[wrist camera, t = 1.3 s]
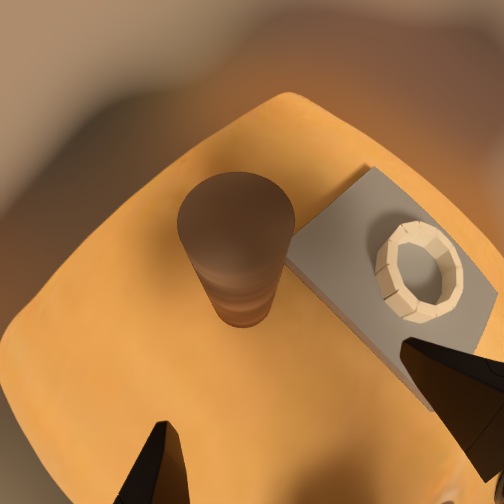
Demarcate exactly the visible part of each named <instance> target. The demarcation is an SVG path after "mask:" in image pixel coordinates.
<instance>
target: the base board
mask: <svg viewBox="0 0 504 504" xmlns="http://www.w3.org/2000/svg"><path fill="white" fill-rule="evenodd" d="M284 263H285V264H286V265H287V266H288V267H289V268H290V269H291V270H292V271H293V272H294V273H295V274H296V275H297V276H298V277H299V278H300V279H301V280H302V281H303V282H304V283H305V284H306V285H307V286H308V287H309V288H310V289H311V290H312V291H313V292H314V293H315V294H316V295H317V296H318V297H319V298H320V299H321V300H322V301H323V302H324V303H325V304H326V305H327V306H328V307H329V308H330V309H331V310H332V311H333V312H334V313H335V314H336V315H337V316H338V317H339V318H340V319H341V320H342V321H343V322H344V323H345V324H346V325H347V326H348V327H349V328H350V329H351V330H352V331H353V332H354V333H355V334H356V335H357V336H358V337H359V338H360V339H361V340H362V341H363V342H364V343H365V344H366V345H367V346H368V347H369V348H370V349H371V351H372V352H373V353H374V354H375V355H376V356H377V357H378V358H379V359H380V360H381V361H382V362H383V363H384V364H385V365H386V366H387V367H388V368H389V369H390V370H391V371H392V372H393V373H394V374H395V375H396V376H397V377H398V378H399V379H400V380H401V381H402V382H403V383H404V384H405V386H406V387H407V388H408V389H409V390H410V391H411V392H412V393H413V394H414V395H415V396H416V397H417V398H418V399H419V400H420V401H421V402H422V403H423V404H424V405H425V406H426V408H427V409H428V410H429V411H430V412H435V411H434V409H433V408H432V407H431V405H430V404H429V403H428V401H427V400H426V399H425V397H424V396H423V395H422V393H421V392H420V391H419V389H418V388H417V387H416V385H415V383H414V382H413V380H412V378H411V377H410V375H409V373H408V372H407V370H406V368H405V367H404V365H403V364H402V362H401V360H400V349H401V344H402V341H403V340H405V339H407V338H408V337H415V338H418V339H421V340H425V341H428V342H431V343H434V344H438V345H441V346H445V347H448V348H451V349H455V350H458V351H462V352H465V353H469V354H472V355H473V353H474V351H475V349H476V347H477V345H478V343H479V341H480V338H481V336H482V334H483V331H484V329H485V327H486V324H487V322H488V319H489V317H490V314H491V312H492V309H493V306H494V303H495V301H496V298H497V295H498V293H497V292H496V290H495V289H494V288H493V286H492V285H491V284H490V282H489V281H488V280H487V278H486V277H485V276H484V275H483V273H482V272H481V271H480V270H479V268H478V267H477V266H476V265H475V264H474V262H473V261H472V260H471V259H470V258H469V256H468V255H467V254H466V253H465V252H464V251H463V250H462V248H461V247H460V246H459V245H458V244H457V243H456V242H455V241H454V240H453V238H452V237H451V236H450V235H449V234H448V233H447V232H446V231H445V230H444V229H443V228H442V227H441V226H440V225H439V224H438V223H437V222H436V221H435V220H434V219H433V218H432V217H431V216H430V215H429V214H428V213H427V212H426V211H425V210H424V209H423V208H422V207H421V206H420V205H419V204H418V203H417V202H415V201H414V200H413V199H412V198H411V197H410V196H409V195H408V194H407V193H406V192H404V191H403V190H402V189H401V188H400V187H399V186H398V185H396V184H395V183H394V182H393V181H392V180H391V179H389V178H388V177H387V176H386V175H385V174H383V173H382V172H381V171H380V170H378V169H377V168H376V167H375V166H374V167H372V168H371V169H370V170H369V171H368V172H367V173H366V174H364V175H363V176H362V177H361V178H360V179H359V180H358V181H356V182H355V183H354V184H353V185H352V186H351V187H349V188H348V189H347V190H346V191H345V192H344V193H343V194H341V195H340V196H339V197H338V198H337V199H336V200H334V201H333V202H332V203H331V204H330V205H329V206H327V207H326V208H325V209H324V210H323V211H322V212H320V213H319V214H318V215H317V216H316V217H315V218H313V219H312V220H311V221H310V222H309V223H308V224H306V225H305V226H304V227H303V228H302V229H301V230H299V231H298V232H297V233H296V234H295V235H294V236H292V238H291V242H290V245H289V248H288V252H287V255H286V259H285V262H284Z"/></svg>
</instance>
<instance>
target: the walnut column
mask: <svg viewBox="0 0 504 504" xmlns="http://www.w3.org/2000/svg"><path fill="white" fill-rule="evenodd" d="M294 225H295V217H294V211H293V207H292V204H291V202H290V200H289V198H288V197H287V195H286V194H285V193H284V191H283V190H282V189H281V188H280V187H279V186H277V185H276V184H275V183H273V182H272V181H270V180H268V179H267V178H264V177H262V176H259V175H256V174H252V173H247V172H229V173H223V174H219V175H216V176H213V177H211V178H208V179H206V180H205V181H203V182H201V183H200V184H198V185H197V186H196V187H195V188H194V189H192V190H191V191H190V193H189V194H188V195H187V196H186V198H185V199H184V201H183V203H182V205H181V207H180V210H179V213H178V219H177V228H178V234H179V237H180V240H181V242H182V244H183V246H184V249H185V251H186V253H187V255H188V257H189V259H190V261H191V263H192V265H193V267H194V269H195V271H196V273H197V275H198V277H199V279H200V281H201V283H202V285H203V287H204V289H205V291H206V293H207V295H208V297H209V299H210V301H211V303H212V305H213V307H214V309H215V311H216V313H217V314H218V316H219V317H220V318H221V319H222V320H223V321H224V322H225V323H227V324H229V325H231V326H233V327H237V328H248V327H252V326H254V325H257V324H258V323H260V322H261V321H262V320H263V319H264V318H265V317H266V316H267V314H268V313H269V311H270V308H271V305H272V302H273V299H274V295H275V292H276V289H277V285H278V282H279V279H280V276H281V272H282V269H283V266H284V262H285V259H286V255H287V252H288V248H289V245H290V242H291V238H292V235H293V231H294Z"/></svg>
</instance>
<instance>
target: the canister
mask: <svg viewBox="0 0 504 504" xmlns="http://www.w3.org/2000/svg"><path fill="white" fill-rule="evenodd" d="M503 484H504V472H503V474H502V476H501V479H500V481H499V484H498V487H497V491H496V495H495V504H500V503H501V502H502V501H503V500H504V498H503V496H502V489H503Z"/></svg>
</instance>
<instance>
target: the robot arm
mask: <svg viewBox="0 0 504 504" xmlns="http://www.w3.org/2000/svg"><path fill="white" fill-rule="evenodd" d="M400 360H401V362H402V364H403V365H404V367H405V368H406V370H407V372H408V373H409V375H410V377H411V378H412V380H413V382H414V383H415V385H416V387H417V388H418V389H419V391H420V392H421V393H422V395H423V396H424V397H425V399H426V400H427V401H428V403H429V404H430V405H431V407H432V408H433V409H434V411H435V412H436V413H437V415H438V416H439V417H440V419H441V420H442V422H443V423H444V424H445V426H446V427H447V428H448V430H449V431H450V433H451V434H452V435H453V437H454V438H455V440H456V441H457V442H458V444H459V445H460V447H461V448H462V450H463V451H464V453H465V454H466V456H467V457H468V459H469V460H470V462H471V463H472V465H473V466H474V468H475V469H476V471H477V472H478V474H479V475H480V477H481V478H482V480H483V481H484V482H485V483H486V482H488V481H489V480H490V479H492V478H493V477H494V476H495V475H497V474H498V473H499V472H500V471H501V470H503V469H504V363H503V362H499V361H494V360H490V359H487V358H483V357H479V356H476V355H472V354H469V353H465V352H462V351H458V350H455V349H451V348H448V347H445V346H441V345H438V344H434V343H431V342H428V341H425V340H421V339H418V338H415V337H408V338H407V339H405V340H403V341H402V344H401V349H400ZM118 494H119V495H117V497H116V499H115V501H114V503H113V504H190V498H189V490H188V481H187V473H186V467H185V463H184V459H183V454H182V449H181V444H180V439H179V435H178V433H177V431H176V430H175V429H174V427H173V426H172V425H171V423H170V422H169V421H159V422H157V423H156V424H155V426H154V428H153V430H152V432H151V433H150V435H149V437H148V439H147V441H146V443H145V445H144V447H143V448H142V450H141V452H140V454H139V456H138V458H137V460H136V461H135V463H134V465H133V467H132V469H131V471H130V473H129V475H128V476H127V478H126V480H125V482H124V484H123V486H122V488H121V490H120V491H119V493H118ZM502 496H503V498H504V484H503V489H502ZM500 504H504V500H503V501H502V502H501V503H500Z"/></svg>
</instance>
